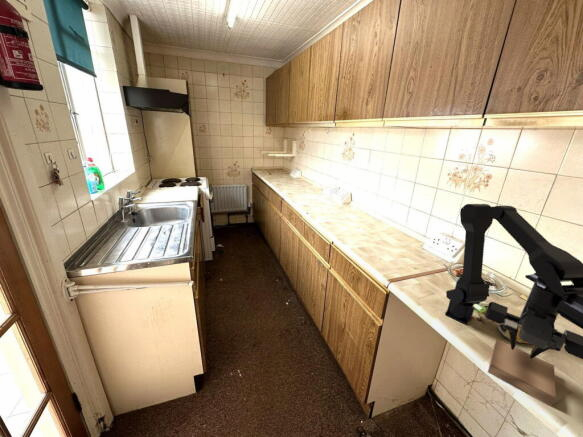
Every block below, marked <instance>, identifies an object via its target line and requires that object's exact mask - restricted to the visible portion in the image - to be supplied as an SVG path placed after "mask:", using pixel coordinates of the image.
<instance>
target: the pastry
mask: <svg viewBox="0 0 583 437" xmlns="http://www.w3.org/2000/svg"><path fill="white" fill-rule="evenodd" d="M503 324H504V323H501V324H498V323H497V330H498V331H499V332H500V333H501V334H502V335H503V336H504V337H505V338H507V340H510V334H509V331H508V330H507V329H505V328H503ZM520 329H521V326H520V325H519V327H518V333H517V338H516V342H518V343H521V344H531V343H529V342H525V341H523V340H521V339H520V338H519V333H520ZM531 345H532V344H531Z"/></svg>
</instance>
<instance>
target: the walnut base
mask: <svg viewBox="0 0 583 437" xmlns="http://www.w3.org/2000/svg"><path fill="white" fill-rule="evenodd" d="M530 354H531V353H528V352H526V351H524V350H522V349H519V348H517V347H514V349H513V350H512V349H511V344H508V343H506V342H504V341H502V340H500V339H498V338H497V339H496V341H495V342H494V345H493V349H492V353H491V357H490V362H489V364H488V365H489V366H488V370H487V373H488V374H490V375H492V376H493V377H496V378H497V379H500V380H501V381H502V382H505V383H506V384H509V385H510V386H512V387H514V388H515V389H517V390H520V391H522V392H524V393H525V394H527V395H529V396H531V397H533V398H535V399H537V400H538V401H540V402H541V403H543V404H546V405H547V406H550V407H552V405H553V403H554V402H555V399H556V397H557V396H556V378H555V377H556V376H555V374H556V373H555V365H554V364H553V363H550V362H548V361H545V360H543V359H541V358H539V357H537V356H536V357H534V358H532V359H531V358H530Z"/></svg>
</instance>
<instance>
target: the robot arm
mask: <svg viewBox="0 0 583 437" xmlns="http://www.w3.org/2000/svg"><path fill="white" fill-rule="evenodd" d="M459 212H460V213H459V215H460V224H461V225H462V227H463V229H464V230H465V239H464V249H463V250H464V251H463V252H464V253H463V263H462V264H463V265H462V274H461V275H460V276H459V278H458V279H457V281H456V282H455V287H454V289H449V290H446V296H445V297H446V298H447V299H448V300H449V302H448V307H447V310H445V312H444V313H445V314H444V315H445V316H446V317H449V318H451V319H454V320H456V321H457V322H460V323H462V324H464V325H468V322H470V321H471V319H472V318H473V314H474V311H475V310H476V309H475V306H474V305H480V303H484V302H485V301H487V299H488V298H489V297H490V293H489V291H490V287H491V286H490V284H489V283H486V282H485V280H484V279H483V277H482V276H483V274H482V273H483V262H484V253H485V252H484V250H485V239H486V233H487V230H488V229H489V228H490V227H491V226H492V224H493V220H495V221H496V222H498V224H500V225H501V226H502V228H503V229H504V230H505V231H506V232H507V233H508V234H509V235H510V236H511V237H512V238H513V239H514V241H515V242H516V243H517V244H518V245H519V246H520V247H521V248H522V249H523V250H524V252H526V254H527V256H528V261H529V265H530V267H532V269H533V270H534V273H532V274H526V275H525V279H527V280H530V281H531V282H532V283H533V285H532V287H531V290H530V292H529V294H528V297H527V298H526V301H525V304H524V306H523V309H522V311H521V314H520V315H519V316H517V315H514V314H513V313H512V314H511V312H508V310H509V307H507V306H505V305H502V304H500V303H497V302H495V301H491V302H489V303H488V306H487V308H486V311H485V314H484V318H486V320H489V321H492V322H494V323H496V324H497V325H498V324H501V323H504V324H503V328H505V329H507V330H508V331H509V334H510V339H509V341H510V345H511V349H512V350H513V349H514V347H515V346H516V343H517V341H516V338H517V333H518V327H519V325H520V326H521V329H520V333H519V338H520V339H521V340H523V341H525V342H529V343H528V344H530V343H531V345H532V346H533V345H534V346H533V348H532V349H531V352H530V353H529V354H530V358H531V359H532V358H534V357H537V356H539V355H540V354H542V353H543V352H546V351H549V350H551V351H556V352H560V351H562V347H563V348H564V350H565V351H566V352H567V354H569V355H572V356H574V357H577V358H578V359H581V360H583V335H580V334H578V333H576V332H573V331H570V330H568V329H565V330H564V331H563V332H561V331H559V330H558V329H556V328H555V322H556V320H557V317H558V315H560V317H561V318H564V319H565V320H567V321H569V322H570V323H571V324H573V325H575V326H577V327H579V328H580V329H582V330H583V262H582V261H581V260H580V259H579V258H577V257H576V256H574V255H573V254H571V253H570V252H568V251H567V250H564V249H562V248H559V247H558V246H556V245H554V244H553V243H552V242H549V241H548V240H547V238H545V237H544V236H543V235H542V234H541V233H540V232H539V231H538V230H537V229H535V228H534V226H532V225H531V224H530V223H529V221H527V220H526V219H525V217H523V216H522V215H521V214H520V213H519V212H518V210H517V208H516V207H514V206H513V205H495V206H491V205H490V204H489V203H488V204H487V203H466V204H464V205H463V207H461V209H460V210H459ZM565 282H566V283H567V282H571V283H572V284H563V283H565ZM562 284H563V285H562ZM515 348H516V347H515Z"/></svg>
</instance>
